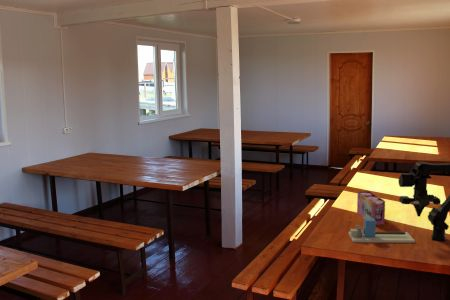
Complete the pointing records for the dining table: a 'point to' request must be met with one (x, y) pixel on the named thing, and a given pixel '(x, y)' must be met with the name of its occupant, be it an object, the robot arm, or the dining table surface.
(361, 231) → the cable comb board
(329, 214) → the dining table surface
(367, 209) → the gum box
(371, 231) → the blue block
